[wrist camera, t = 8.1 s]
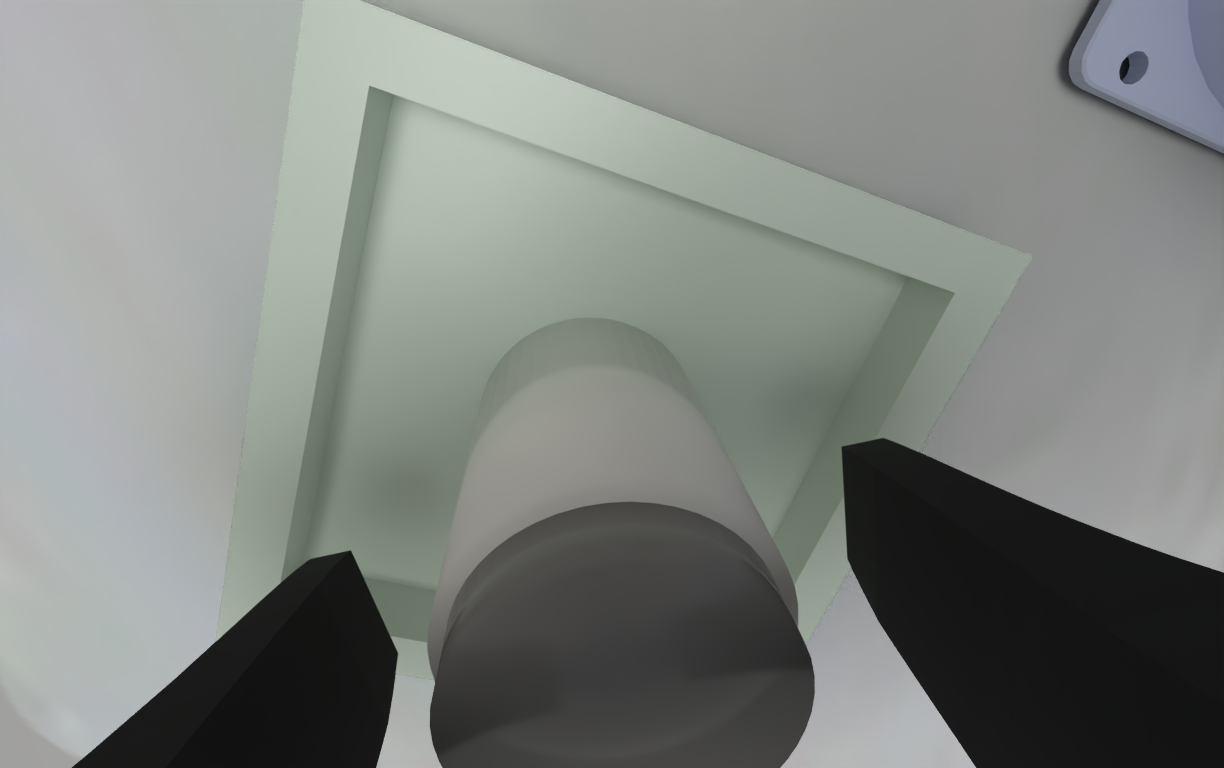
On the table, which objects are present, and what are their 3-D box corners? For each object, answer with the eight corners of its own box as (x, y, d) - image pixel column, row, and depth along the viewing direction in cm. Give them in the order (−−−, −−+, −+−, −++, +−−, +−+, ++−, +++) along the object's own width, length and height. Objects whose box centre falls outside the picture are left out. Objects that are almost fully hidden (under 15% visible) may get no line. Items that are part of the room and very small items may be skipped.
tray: (963, 235, 13) (1033, 256, 11) (732, 667, 17) (753, 735, 15) (351, 5, 10) (306, -20, 8) (258, 575, 14) (215, 642, 12)
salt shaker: (725, 352, 13) (907, 596, 6) (651, 528, 14) (735, 869, 8) (512, 289, 12) (467, 498, 5) (457, 484, 13) (372, 830, 7)
